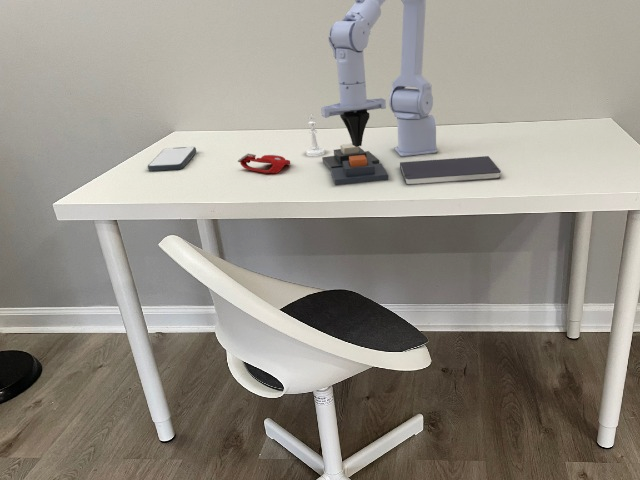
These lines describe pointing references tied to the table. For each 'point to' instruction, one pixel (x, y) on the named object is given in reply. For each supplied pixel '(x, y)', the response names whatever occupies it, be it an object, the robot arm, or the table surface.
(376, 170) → the slotted grey holder
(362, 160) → the orange key
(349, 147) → the cream key
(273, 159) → the red curved piece
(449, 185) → the table surface
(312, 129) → the chess piece
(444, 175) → the notebook
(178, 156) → the phone case
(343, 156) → the dark grey stepped base
